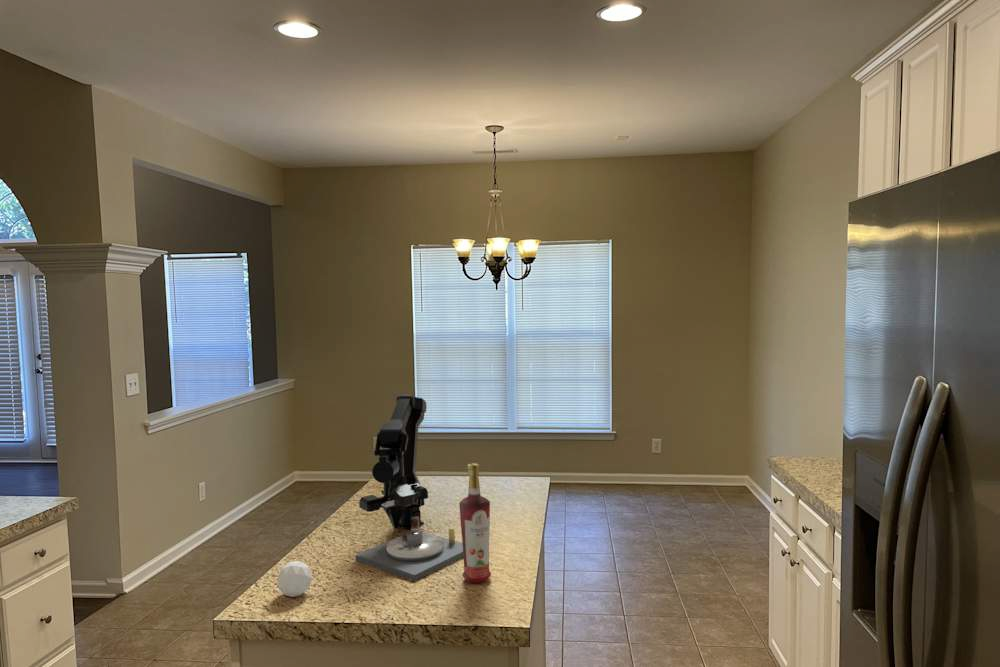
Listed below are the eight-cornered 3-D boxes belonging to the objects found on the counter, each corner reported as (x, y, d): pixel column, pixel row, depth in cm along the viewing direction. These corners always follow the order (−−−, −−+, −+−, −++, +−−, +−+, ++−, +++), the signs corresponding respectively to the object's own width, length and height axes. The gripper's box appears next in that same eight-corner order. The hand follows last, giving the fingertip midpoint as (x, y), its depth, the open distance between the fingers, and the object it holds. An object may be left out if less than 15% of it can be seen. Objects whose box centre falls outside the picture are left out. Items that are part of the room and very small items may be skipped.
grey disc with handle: (444, 558, 164) (444, 541, 164) (384, 563, 162) (384, 545, 162) (442, 530, 184) (441, 515, 184) (389, 534, 183) (388, 518, 182)
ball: (304, 605, 150) (319, 582, 148) (271, 602, 146) (285, 578, 143) (302, 578, 156) (316, 556, 154) (270, 575, 152) (284, 551, 149)
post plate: (355, 560, 169) (354, 540, 169) (416, 535, 186) (415, 516, 186) (414, 581, 155) (414, 558, 155) (474, 551, 173) (473, 531, 172)
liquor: (468, 589, 150) (464, 470, 149) (457, 577, 157) (453, 463, 156) (496, 582, 153) (493, 466, 152) (485, 571, 160) (481, 459, 158)
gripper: (375, 485, 167) (377, 544, 167) (437, 472, 178) (439, 528, 178) (357, 476, 175) (359, 533, 176) (417, 464, 187) (419, 518, 187)
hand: (395, 528), depth 179 cm, fingers closed
